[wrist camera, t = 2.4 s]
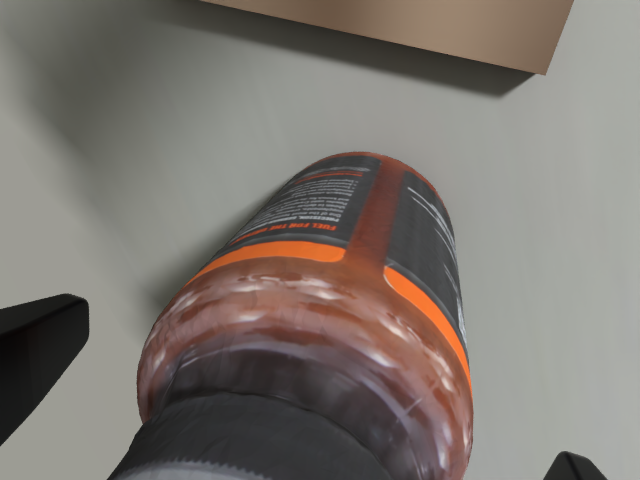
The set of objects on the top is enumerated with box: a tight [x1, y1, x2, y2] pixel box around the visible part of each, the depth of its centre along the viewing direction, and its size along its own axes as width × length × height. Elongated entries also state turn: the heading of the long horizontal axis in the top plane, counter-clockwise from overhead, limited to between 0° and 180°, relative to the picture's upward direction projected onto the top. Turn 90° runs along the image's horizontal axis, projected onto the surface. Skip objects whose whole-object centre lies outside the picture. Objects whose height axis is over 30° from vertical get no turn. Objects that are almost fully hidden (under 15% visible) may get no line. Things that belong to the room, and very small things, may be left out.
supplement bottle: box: [107, 152, 473, 480], centre depth 10 cm, size 6×6×11 cm
